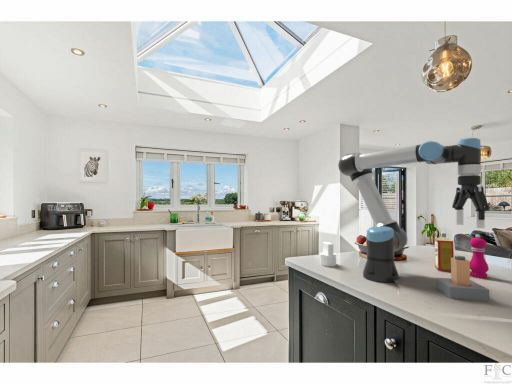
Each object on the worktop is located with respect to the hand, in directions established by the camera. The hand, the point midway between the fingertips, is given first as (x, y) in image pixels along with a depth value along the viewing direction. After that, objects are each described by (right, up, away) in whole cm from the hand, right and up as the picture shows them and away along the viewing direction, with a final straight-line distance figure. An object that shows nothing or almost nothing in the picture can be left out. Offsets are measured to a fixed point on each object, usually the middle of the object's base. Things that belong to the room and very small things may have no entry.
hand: (469, 226), depth 110 cm
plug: (-12, -24, -11) cm, 29 cm away
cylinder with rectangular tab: (-48, -27, +39) cm, 68 cm away
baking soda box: (+10, -27, +28) cm, 40 cm away
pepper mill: (+17, -26, +15) cm, 35 cm away
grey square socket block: (-12, -25, -11) cm, 30 cm away
